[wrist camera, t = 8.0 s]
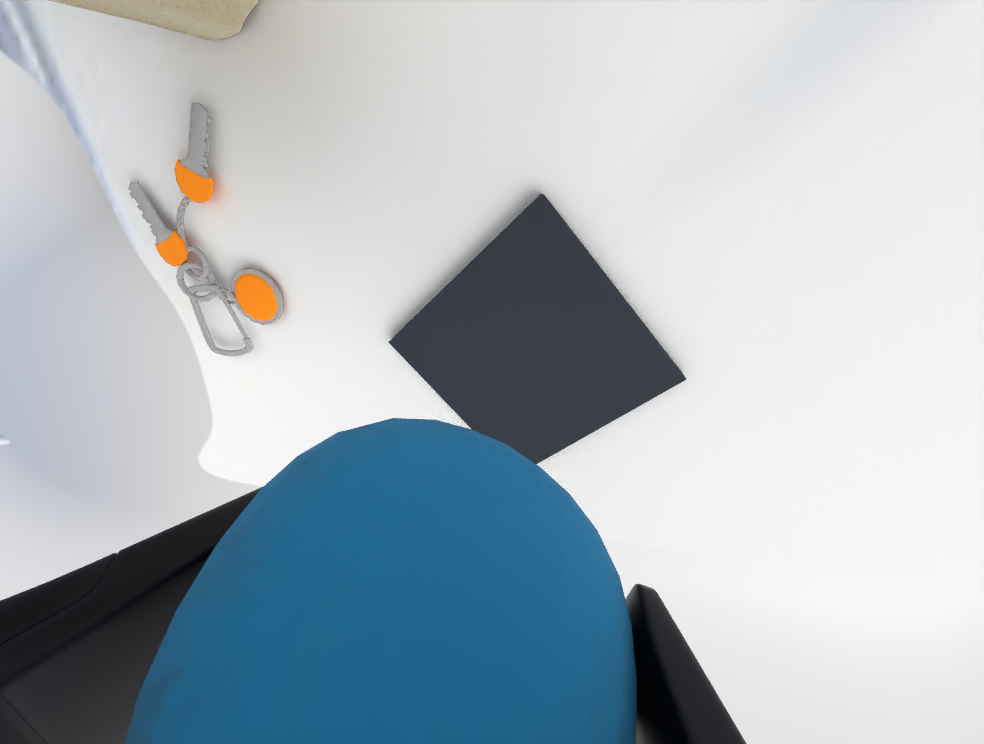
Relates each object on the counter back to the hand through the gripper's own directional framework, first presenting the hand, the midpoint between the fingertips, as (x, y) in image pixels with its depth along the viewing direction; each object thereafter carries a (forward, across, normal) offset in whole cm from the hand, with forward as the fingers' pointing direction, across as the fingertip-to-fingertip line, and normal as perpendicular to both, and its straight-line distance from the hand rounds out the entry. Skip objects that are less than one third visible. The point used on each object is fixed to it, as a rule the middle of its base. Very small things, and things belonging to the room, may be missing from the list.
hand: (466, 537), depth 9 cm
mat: (+12, 0, 0) cm, 12 cm away
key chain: (+12, +19, -1) cm, 22 cm away
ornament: (+3, 0, 0) cm, 3 cm away
